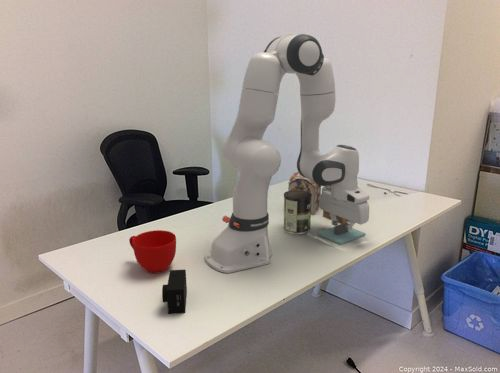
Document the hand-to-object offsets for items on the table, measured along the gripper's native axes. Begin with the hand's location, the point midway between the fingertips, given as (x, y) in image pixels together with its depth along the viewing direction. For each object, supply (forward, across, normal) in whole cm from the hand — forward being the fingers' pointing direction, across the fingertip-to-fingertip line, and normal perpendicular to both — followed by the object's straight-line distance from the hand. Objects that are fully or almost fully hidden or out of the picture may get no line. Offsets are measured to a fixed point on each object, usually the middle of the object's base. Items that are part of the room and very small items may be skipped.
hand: (341, 227), depth 146 cm
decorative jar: (+4, -28, +8) cm, 29 cm away
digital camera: (+4, +2, -67) cm, 67 cm away
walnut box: (+4, -12, +14) cm, 19 cm away
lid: (+4, 0, 0) cm, 4 cm away
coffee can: (+4, -15, -8) cm, 17 cm away
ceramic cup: (+4, -20, -64) cm, 67 cm away
